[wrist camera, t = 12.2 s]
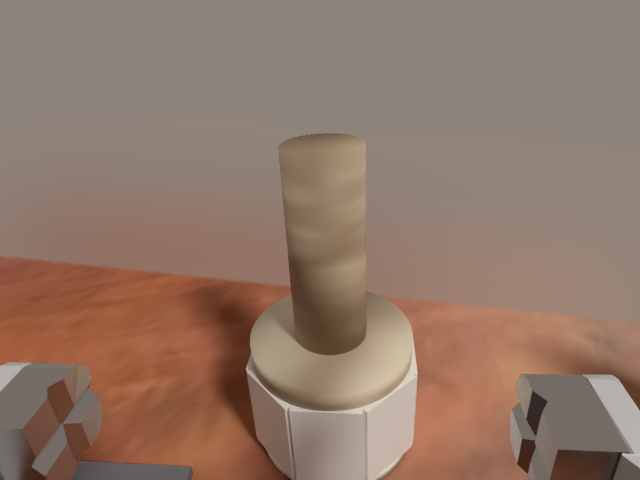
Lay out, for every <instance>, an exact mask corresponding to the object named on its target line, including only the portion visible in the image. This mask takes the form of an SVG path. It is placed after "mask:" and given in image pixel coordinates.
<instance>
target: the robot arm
mask: <svg viewBox="0 0 640 480" xmlns="http://www.w3.org/2000/svg"><path fill="white" fill-rule="evenodd" d="M91 382H92V378H91V376H90V373H89V371H88V369H87V367H85V366H82V365H74V364H52V363H19V362H9V363H6V364H4V365H1V366H0V480H70V479H71V477H72V476H73V474H74V473H75V471H76V470H77V468H78V466H77V456H78V455H80V454H81V453H83V452H84V451H85V450H87V449H88V448H90V447H91V445H92V444H93V442H94V440H95V438H96V437H97V435H98V433H99V429H100V426H101V422H102V405H101V402H100V399H99V397H98V396H97V395H96V394H94V393H93V392H92V391H91V390H90V389H88V388H89V386H90V384H91ZM515 391H516V394H517V397H518V399H519V402H520V403H518V404H517V405H516V406H515V407H514V408H512V411H511V418H510V437H511V443H512V448H513V452H514V456H515V459H516V462H517V464H518V465H519V466H520V467H521V468H522V469H523V470H524V471H525V472H526V473H527V474H528V476H527V480H640V410H639V409H638V407H637V406H636V404H635V403H634V401H633V400H632V398H631V397H630V395H629V394H628V392H627V391H626V390H625V388H624V387H623V385H622V384H621V382H620V381H619V379H618V378H616V377H615V376H613V375H586V374H581V375H560V374H520V376H519V378H518V380H517V384H516V389H515Z"/></svg>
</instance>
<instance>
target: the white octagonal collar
mask: <svg viewBox="0 0 640 480" xmlns="http://www.w3.org/2000/svg"><path fill="white" fill-rule="evenodd" d="M246 373H247V379H248V385H249V392H250V398H251V404H252V411H253V417H254V423H255V429H256V436H257V439H258V440H259V442H260V443H261V444H262V445H263V446H264V447H265V450H266V452H267V454H268V456H269V458H270V460H271V461H272V463H273V464H274V465H275V467H276V468H277V469H278V470H279V471H280V472H281V473H283V474H284V475H285V476H286V477H288V478H289V479H291V480H381V479H382V478H384V477H385V476H386V475H388V474H389V473H390V472H391V471H392V470H393V469H394V468H395V467H396V466H397V465H398V464H399V462H400V461H401V460H402V458H403V456H404V454H405V452H406V451H407V450H408V449H409V448H410V447H411V446H412V443H413V438H414V422H415V406H416V390H417V366H416V358H415V350H414V343H413V345H412V360H411V366H410V369H409V371H408V374H407V375H406V377H405V378H404V380H403V381H402V382H401V384H400V385H399V386H398V387H397V388H396V389H395V390H394V391H392V392H391V393H390V394H388V395H387V396H385V397H384V398H382V399H380V400H378V401H376V402H374V403H372V404H369V405H366V406H363V407H360V408H356V409H351V410H344V411H314V410H309V409H304V408H300V407H297V406H293V405H290V404H288V403H286V402H284V401H282V400H280V399H278V398H277V397H275V396H274V395H272V394H271V393H270V392H269V391H268V390H266V389H265V387H264V386H263V385H262V384H261V383H260V381H259V380H258V378H257V376H256V374H255V371H254V368H253V361H252V354H251V355H250V358H249V361H248V364H247V367H246Z"/></svg>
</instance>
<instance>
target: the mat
mask: <svg viewBox="0 0 640 480" xmlns="http://www.w3.org/2000/svg"><path fill="white" fill-rule="evenodd" d="M77 466H78V468H77V470H76V471H75V473H74V474H73V476H72V477H71V479H70V480H191V477H192V474H193V471H192V467H186V466H167V465H149V464H130V463H111V462H93V461H77Z"/></svg>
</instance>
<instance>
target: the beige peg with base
mask: <svg viewBox="0 0 640 480" xmlns="http://www.w3.org/2000/svg"><path fill="white" fill-rule="evenodd" d="M278 150H279V161H280V172H281V183H282V194H283V205H284V216H285V227H286V238H287V248H288V260H289V271H290V281H291V293H292V295H290V296H287V297H285V298H283V299H281V300H279V301H277V302H276V303H274V304H273V305H271V306H270V307H269V308H267V309H266V310H265V311H264V312H263V313H262V314H261V315H260V316H259V318H258V319H257V320H256V322H255V324H254V326H253V328H252V331H251V335H250V348H251V354H252V361H253V368H254V371H255V374H256V376H257V378H258V380H259V381H260V383H261V384H262V385H263V386H264V387H265V389H266V390H268V391H269V392H270V393H271V394H272V395H274V396H275V397H277V398H278V399H280V400H282V401H284V402H286V403H288V404H290V405H293V406H297V407H300V408H304V409H309V410H314V411H344V410H351V409H356V408H360V407H363V406H366V405H369V404H372V403H374V402H376V401H378V400H380V399H382V398H384V397H385V396H387V395H388V394H390V393H391V392H392V391H394V390H395V389H396V388H397V387H398V386H399V385H400V384H401V382H402V381H403V380H404V378H405V377H406V375H407V374H408V371H409V369H410V366H411V360H412V345H413V332H412V328H411V325H410V323H409V321H408V319H407V317H406V316H405V314H404V313H403V312H402V311H401V310H400V309H399V308H398V307H397V306H395V305H394V304H393V303H391V302H390V301H388V300H387V299H385V298H383V297H381V296H379V295H376V294H373V293H371V292H367V291H366V143H365V141H364V140H363V139H361V138H359V137H356V136H352V135H345V134H312V135H305V136H299V137H295V138H291V139H289V140H286V141H284V142H282V143H281V144H280V145H279V147H278Z"/></svg>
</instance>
